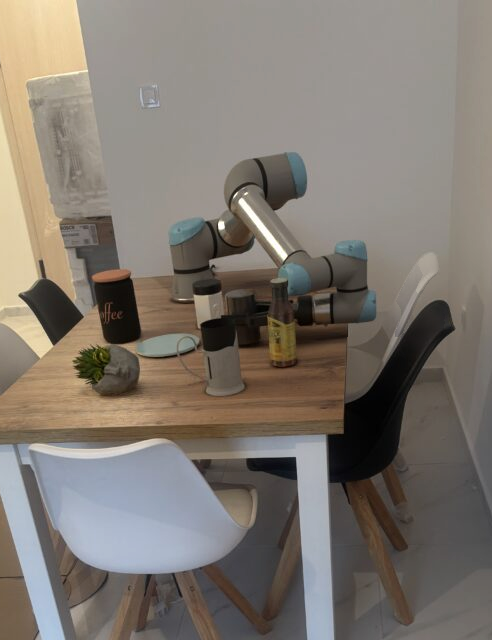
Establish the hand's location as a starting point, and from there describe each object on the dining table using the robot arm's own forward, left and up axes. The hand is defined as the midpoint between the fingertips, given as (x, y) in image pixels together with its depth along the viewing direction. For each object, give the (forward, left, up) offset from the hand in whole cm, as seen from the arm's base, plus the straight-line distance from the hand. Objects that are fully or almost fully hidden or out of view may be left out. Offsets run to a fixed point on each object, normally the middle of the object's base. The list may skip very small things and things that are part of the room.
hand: (224, 315), depth 197 cm
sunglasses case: (-25, +19, -8) cm, 32 cm away
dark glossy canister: (0, +5, -6) cm, 8 cm away
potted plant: (+31, -22, -8) cm, 39 cm away
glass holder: (+33, +3, -8) cm, 34 cm away
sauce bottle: (+17, +17, -8) cm, 25 cm away
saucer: (0, -16, -8) cm, 18 cm away
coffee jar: (-11, -32, -8) cm, 35 cm away
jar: (-19, -8, -8) cm, 22 cm away
